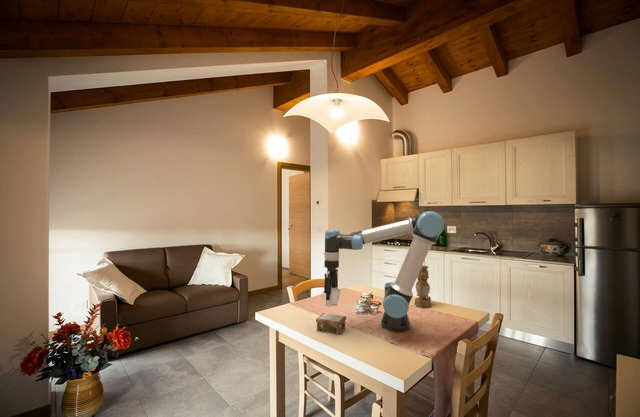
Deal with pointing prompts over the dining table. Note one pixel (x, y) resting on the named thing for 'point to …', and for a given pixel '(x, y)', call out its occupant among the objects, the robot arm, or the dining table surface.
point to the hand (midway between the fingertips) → (330, 303)
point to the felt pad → (331, 317)
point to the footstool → (331, 324)
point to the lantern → (423, 288)
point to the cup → (333, 296)
